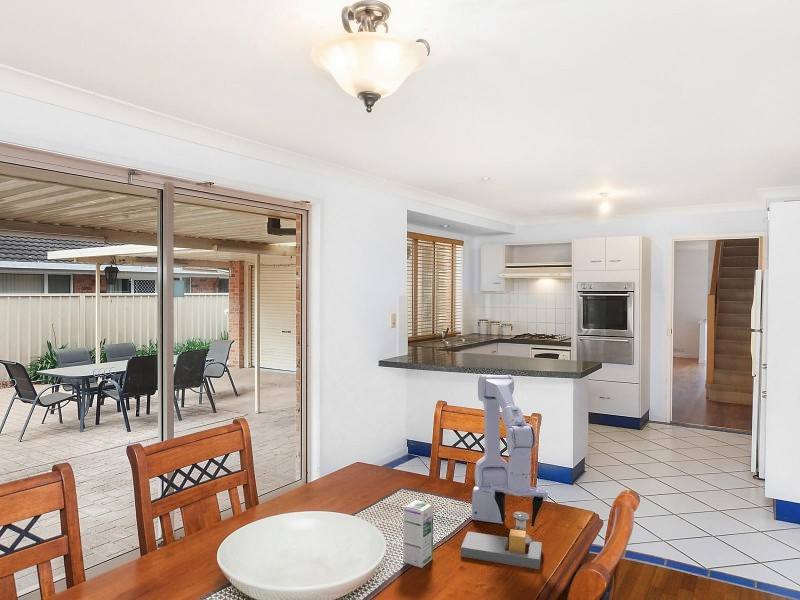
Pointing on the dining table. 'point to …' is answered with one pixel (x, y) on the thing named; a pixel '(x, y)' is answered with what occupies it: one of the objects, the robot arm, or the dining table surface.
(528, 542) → the bobbin post
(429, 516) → the syrup box
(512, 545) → the tab block
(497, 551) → the board
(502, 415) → the robot arm
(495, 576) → the dining table surface
